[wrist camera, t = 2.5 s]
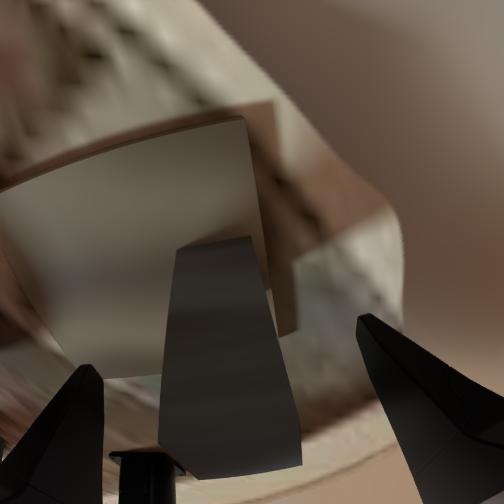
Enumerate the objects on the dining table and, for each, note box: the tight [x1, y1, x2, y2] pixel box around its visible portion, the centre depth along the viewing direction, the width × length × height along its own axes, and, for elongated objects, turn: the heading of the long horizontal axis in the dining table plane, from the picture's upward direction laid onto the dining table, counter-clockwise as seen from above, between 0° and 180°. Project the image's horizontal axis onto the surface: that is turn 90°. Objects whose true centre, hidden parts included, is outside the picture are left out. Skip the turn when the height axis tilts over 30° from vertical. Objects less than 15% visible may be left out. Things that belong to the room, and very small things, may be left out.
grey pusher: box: [0, 115, 302, 480], centre depth 10 cm, size 12×12×10 cm
